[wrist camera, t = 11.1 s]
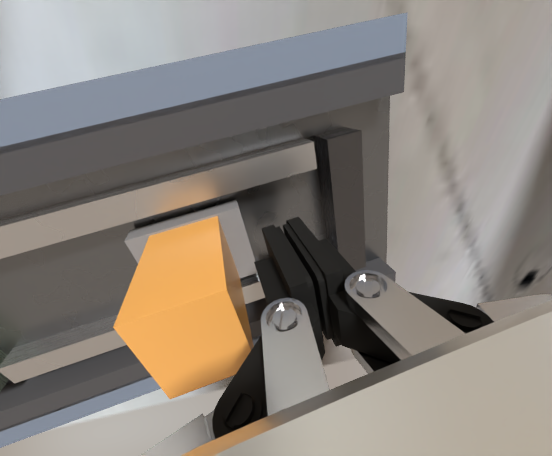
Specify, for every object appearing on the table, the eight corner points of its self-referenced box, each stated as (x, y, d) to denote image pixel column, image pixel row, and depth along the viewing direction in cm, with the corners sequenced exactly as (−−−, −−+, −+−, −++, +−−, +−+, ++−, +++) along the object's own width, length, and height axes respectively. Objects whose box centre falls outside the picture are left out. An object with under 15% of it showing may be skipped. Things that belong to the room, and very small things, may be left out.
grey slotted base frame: (370, 29, 12) (417, 10, 9) (373, 271, 19) (399, 298, 17) (-306, 178, 9) (-522, 211, 6) (7, 399, 16) (-31, 457, 14)
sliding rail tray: (380, 23, 11) (407, 12, 9) (379, 286, 18) (394, 302, 17) (-374, 187, 8) (-503, 207, 6) (-1, 422, 15) (-22, 455, 14)
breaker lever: (236, 199, 12) (261, 275, 7) (255, 261, 14) (285, 357, 9) (130, 230, 11) (70, 338, 6) (164, 290, 13) (140, 412, 8)
